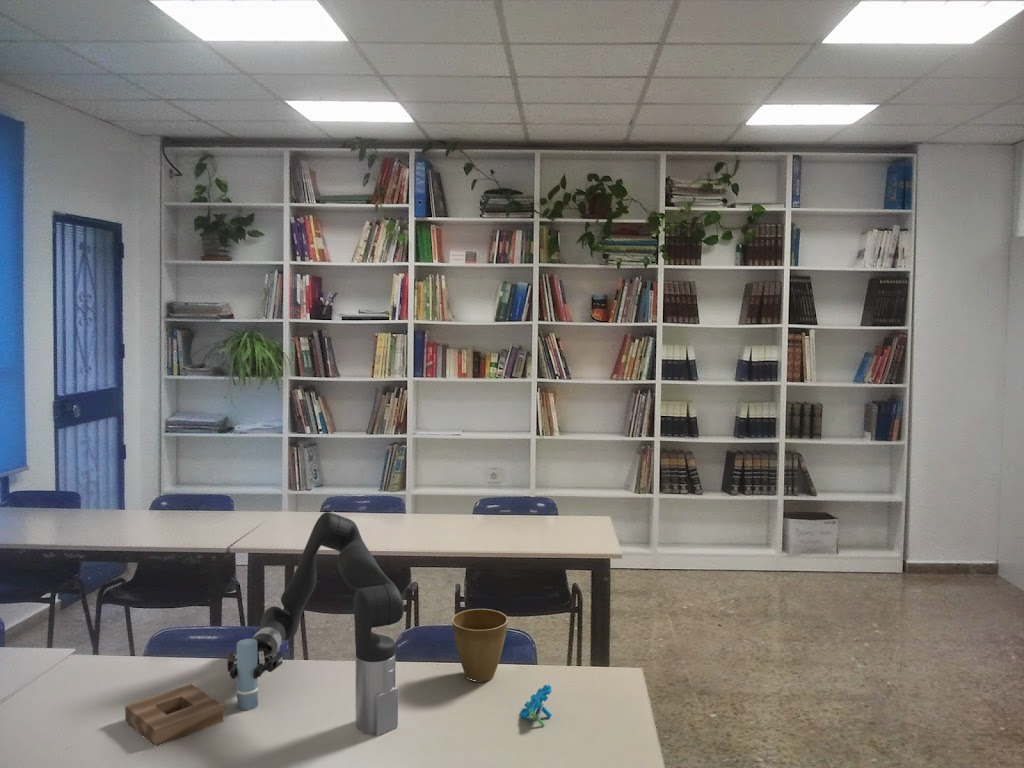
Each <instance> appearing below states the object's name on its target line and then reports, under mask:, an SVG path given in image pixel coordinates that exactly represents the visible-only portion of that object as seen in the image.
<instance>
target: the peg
mask: <svg viewBox="0 0 1024 768" xmlns="http://www.w3.org/2000/svg"><path fill="white" fill-rule="evenodd" d="M236 655H237V676H236V695H237V697H236V699H237V703H236V704H237V705H236V706H237V709H238V710H240V711H251V710H255V709H256V708H257V707H258V706H259V685H258V683H259V682H258V681H259V679H258V678H259V677H258V678H257V679H254V670H255V668H256V667H257V665H258V663H257V640H255V639H252V638H245V639H240V640H239V641H236Z"/></svg>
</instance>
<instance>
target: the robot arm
mask: <svg viewBox="0 0 1024 768" xmlns="http://www.w3.org/2000/svg"><path fill="white" fill-rule="evenodd" d="M322 546H323V547H324V548H328V549H332V550H334V551H337V552H339V553H338V556H337V559H336V567H337V570H338V572H339V574H340V576H341V578H342V580H343V582H344V583H345V584H346V585H347V586H349V587H350V588H351V589H354V590H355V593H354V596H353V615H354V616H353V619H354V641H355V642H354V644H355V728H356V730H357V731H358V732H360V733H362V734H367V735H373V736H374V735H375V736H377V737H378V736H380V735H383V734H384V733H387V732H389V731H392V730H393V729H396V728H397V726H399V723H398V721H399V716H398V715H399V713H398V712H399V688H398V687H397V686H396V657H397V656H396V653H397V652H396V646H397V645H396V642H395V640H394V639H392V638H391V637H390V636H387V635H383V634H379V633H376V632H375V633H374V632H373V631H372V629H373V628H378V627H379V628H380V627H385V626H391V625H394V624H396V623H398V622H400V621H401V619H402V618H403V616H404V611H405V605H404V600H403V596H402V595H401V592H400V590H399V589H398V587H397V586H396V584H395V583H394V582H393V581H392V580H391V578H389V577H388V576H387V575H386V574H385V573H384V571H383V570H382V569H381V567H380V566H379V564H378V563H377V560H376V558H375V557H374V555H373V554H372V552H371V551H370V550H369V549H368V546H366V543H365V542H364V539H363V538H362V535H361V533H360V530H359V527H358V525H357V524H356V522H355V521H353V520H352V519H349V518H348V517H345V516H342V515H339V514H337V513H333V512H328V511H325V512H323V513H322V514H321V515H320V516H319V517H318V519H317V520H316V522H315V524H314V525H313V528H312V530H311V533H310V535H309V538H308V540H307V543H306V544H305V547H304V549H303V552H302V554H301V557H300V559H299V563H298V565H297V567H296V569H295V571H294V573H293V575H292V577H291V579H290V581H289V582H288V584H287V586H286V587H285V589H284V591H283V593H282V595H281V597H280V603H281V605H282V606H283V607H284V608H285V609H286V610H284V609H282V608H281V607H278V606H277V605H274V606H270V607H268V608H267V609H266V610H265V611H264V613H263V615H262V616H261V619H260V624H259V630H258V631H257V632H256V633H255V634H254V635H253V637H252V638H251V639H255V640H257V663H258V665H257V667H256V668H255V670H254V679H257V678H260V677H261V676H262V675H263V674H264V673H265V672H266V671H267V672H269V673H272V672H274V671H275V670H276V669H277V668H278V667H280V666H281V665H282V664H283V653H282V652H279V651H280V647H281V645H282V644H283V642H284V641H290V640H291V639H293V638H294V637H296V635H297V632H298V630H299V627H300V622H301V618H302V613H303V611H304V608H305V606H306V604H307V603H308V601H309V599H310V598H311V596H312V594H313V592H314V590H315V588H316V586H317V579H318V578H317V564H316V563H317V562H316V561H317V554H318V553H319V550H320V548H321V547H322ZM287 610H288V611H287ZM278 652H279V653H278ZM227 672H229V677H230V678H231V679H233V680H234V679H237V654H234V652H229V653H228V657H227Z"/></svg>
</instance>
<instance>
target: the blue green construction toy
mask: <svg viewBox="0 0 1024 768" xmlns="http://www.w3.org/2000/svg"><path fill="white" fill-rule="evenodd" d="M551 693H552V686H551V685H550V684H548V685H547V684H544V685H543V687H542V688H541V687H540V688H538V690H537V691H536V693H533V694H532V695H530V700H529V701H526V702H525V704H524V707H523V708H521V711H520V718H522V719H524V718H525V719H528V718H529V717H530V716H531V718H532V719H533V721H534V722H536V721H537V722H538V723H539V724H540V725H541V726H542V727H545V725H546V723H544V721H543V720H541V718H540V716H541V713H543V714H545V716H547V718H548V719H550V718H551V717H552V714H551V712H550V711H549V710H548V709H547V708H546V707H545V706H544V703H543V702H546V701H547V700H548V699H549V697H548V696H550V695H551Z"/></svg>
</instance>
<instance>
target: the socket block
mask: <svg viewBox="0 0 1024 768" xmlns="http://www.w3.org/2000/svg"><path fill="white" fill-rule="evenodd" d="M124 707H125V708H124V713H125V716H124V717H125V718H124V719H125V723H126V722H127V723H128V724H127V723H126V724H127V725H128V726H130V725H131V726H132V727H133V728H134V729H135V730H134V729H133V728H132V727H131V726H130V727H131V728H132V729H133V730H134V731H136V730H137V731H138V732H139V733H140V734H141V735H140V734H139V733H138V732H137V731H136V732H137V733H138V734H139V735H140V736H142V737H143V736H144V737H145V738H146V739H147V741H148V740H149V741H150V742H151V743H152V744H153V745H152V744H151V743H150V742H149V741H148V742H149V743H150V744H151V745H152V746H154V745H155V746H157V747H159V746H158V745H160V744H162V745H164V744H163V743H165V744H167V743H166V742H168V743H170V742H172V740H173V741H175V740H178V739H181V738H183V737H185V736H189V735H192V734H194V733H196V732H199V731H201V730H205V729H207V728H210V727H212V726H215V725H217V724H220V723H223V722H224V705H223V703H221V702H219V701H218V700H217V699H215V698H213V697H211V696H210V695H209V694H208V693H206V692H204V691H203V690H201V689H200V688H198V687H197V686H195V685H194V684H192V683H189V684H187V685H183V686H180V687H178V688H175V689H170V690H167V691H165V692H162V693H159V694H156V695H152V696H150V697H148V698H143V699H140V700H138V701H135V702H132V703H130V704H125V706H124ZM144 737H143V738H144ZM180 737H181V738H180ZM145 738H144V739H145ZM146 739H145V740H146ZM169 741H170V742H169ZM155 746H154V747H155ZM160 746H161V745H160Z"/></svg>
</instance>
